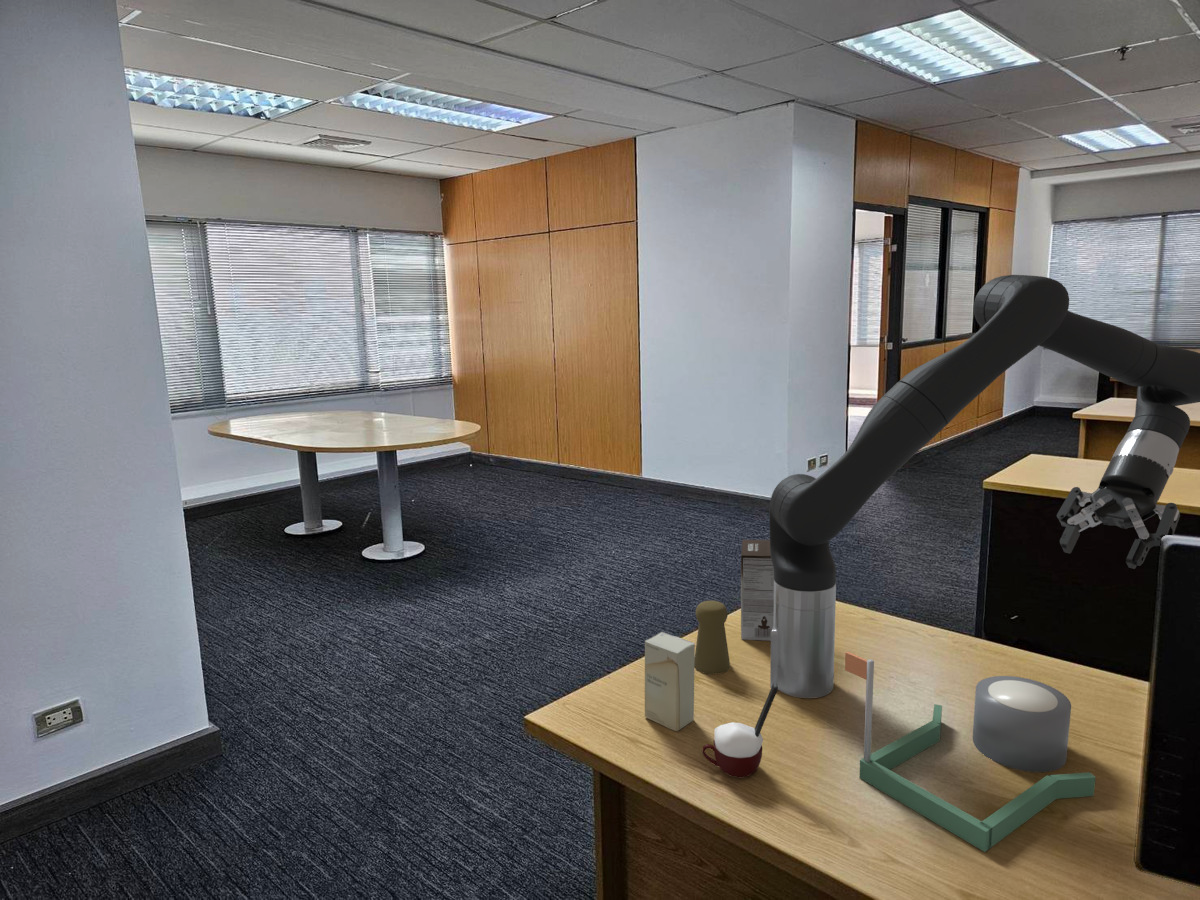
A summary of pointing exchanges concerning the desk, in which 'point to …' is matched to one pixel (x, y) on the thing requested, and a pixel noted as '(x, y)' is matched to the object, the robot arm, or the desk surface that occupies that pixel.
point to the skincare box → (669, 680)
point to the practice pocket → (937, 809)
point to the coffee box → (756, 590)
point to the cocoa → (740, 744)
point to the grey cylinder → (1021, 723)
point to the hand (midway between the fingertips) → (1096, 557)
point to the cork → (711, 638)
